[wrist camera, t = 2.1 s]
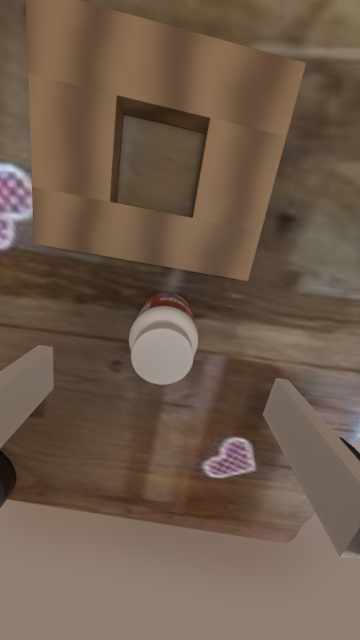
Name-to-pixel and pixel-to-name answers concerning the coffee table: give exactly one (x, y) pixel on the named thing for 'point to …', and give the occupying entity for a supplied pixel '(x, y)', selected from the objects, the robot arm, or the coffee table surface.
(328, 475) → the robot arm
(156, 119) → the square wooden frame
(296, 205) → the coffee table surface
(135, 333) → the pill bottle
